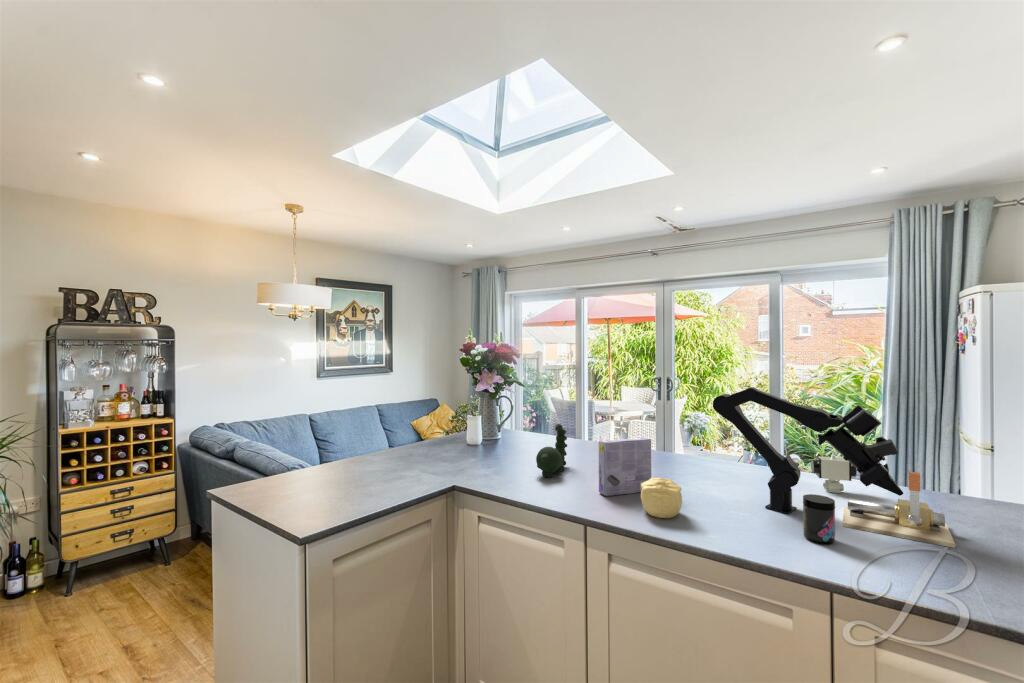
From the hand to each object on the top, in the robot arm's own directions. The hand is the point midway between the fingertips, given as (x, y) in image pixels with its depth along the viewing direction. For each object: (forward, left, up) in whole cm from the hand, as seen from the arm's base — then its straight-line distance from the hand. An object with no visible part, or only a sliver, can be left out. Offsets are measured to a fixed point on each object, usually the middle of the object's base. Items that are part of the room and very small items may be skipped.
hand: (901, 494), depth 119 cm
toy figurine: (-34, +98, -10) cm, 104 cm away
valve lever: (+1, -2, -7) cm, 8 cm away
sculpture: (-38, +47, -10) cm, 61 cm away
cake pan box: (-30, +66, -10) cm, 73 cm away
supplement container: (-22, +12, -10) cm, 27 cm away
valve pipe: (+3, +3, -9) cm, 10 cm away
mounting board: (+2, +2, -10) cm, 10 cm away
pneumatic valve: (+23, +23, -10) cm, 33 cm away
